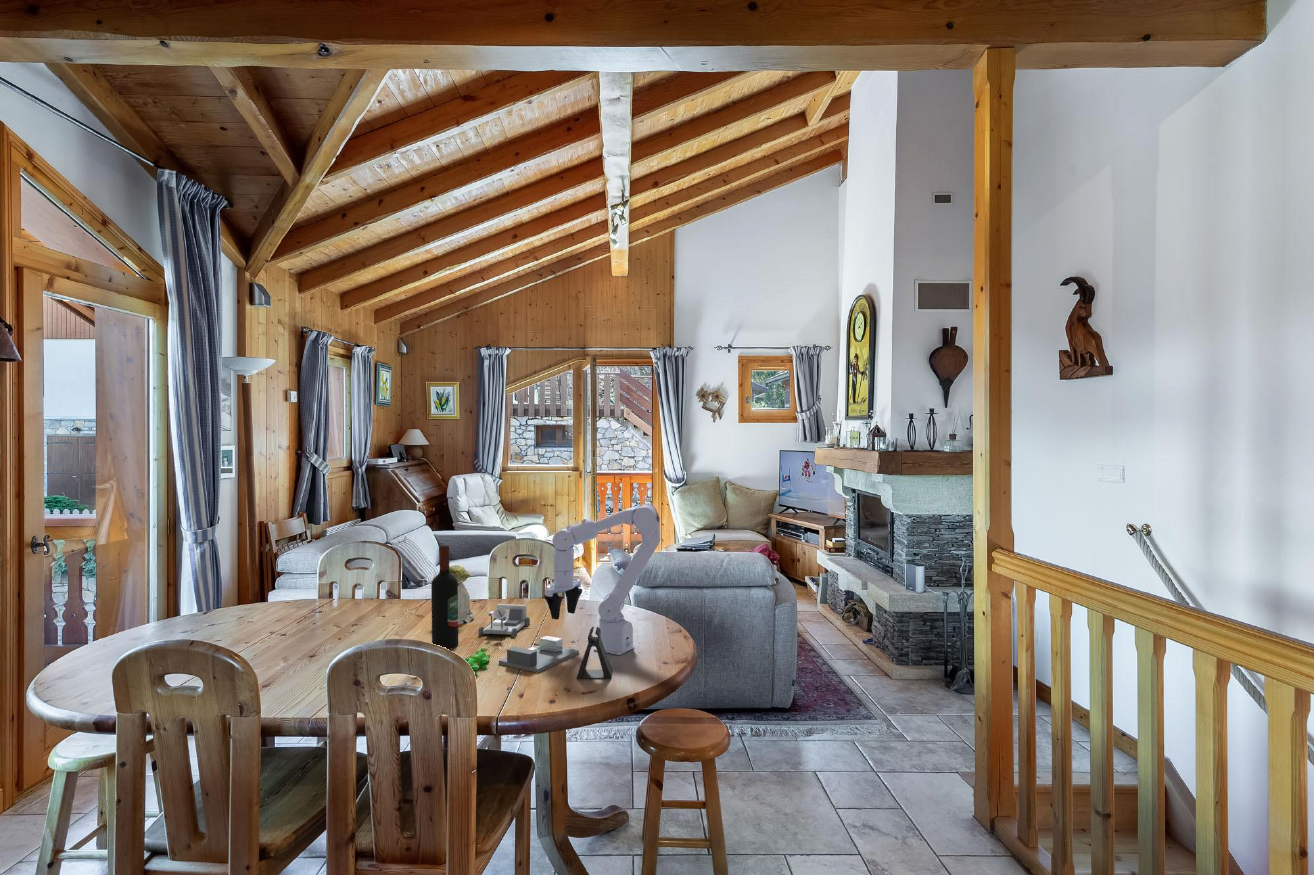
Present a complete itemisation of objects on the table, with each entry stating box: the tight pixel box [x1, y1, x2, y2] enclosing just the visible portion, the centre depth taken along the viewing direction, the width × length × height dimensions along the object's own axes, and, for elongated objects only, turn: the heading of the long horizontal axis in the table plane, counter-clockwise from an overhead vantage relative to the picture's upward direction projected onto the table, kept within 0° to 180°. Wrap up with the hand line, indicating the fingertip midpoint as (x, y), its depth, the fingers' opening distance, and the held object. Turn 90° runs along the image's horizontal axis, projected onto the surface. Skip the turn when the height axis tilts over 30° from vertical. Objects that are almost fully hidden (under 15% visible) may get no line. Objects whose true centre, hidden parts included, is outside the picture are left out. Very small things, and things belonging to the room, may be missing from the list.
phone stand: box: [576, 626, 613, 680], centre depth 182 cm, size 9×6×12 cm, turn 90°
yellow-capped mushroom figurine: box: [449, 565, 476, 626], centre depth 236 cm, size 12×13×18 cm
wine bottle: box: [430, 544, 459, 650], centre depth 207 cm, size 8×8×30 cm
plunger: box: [533, 635, 563, 653], centre depth 201 cm, size 9×3×3 cm, turn 60°
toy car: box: [478, 603, 531, 638], centre depth 222 cm, size 18×10×12 cm
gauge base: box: [498, 644, 580, 674], centre depth 196 cm, size 14×18×4 cm
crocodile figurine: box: [464, 647, 491, 676], centre depth 187 cm, size 7×18×4 cm, turn 168°
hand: (563, 615), depth 205 cm, fingers open, 7 cm apart
